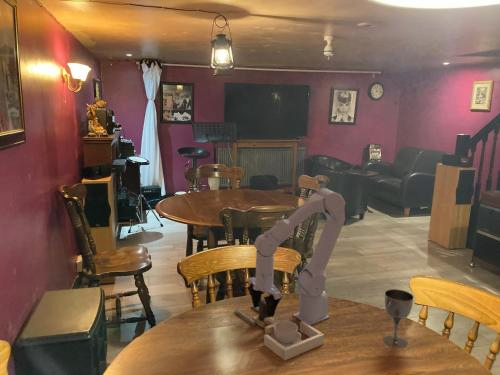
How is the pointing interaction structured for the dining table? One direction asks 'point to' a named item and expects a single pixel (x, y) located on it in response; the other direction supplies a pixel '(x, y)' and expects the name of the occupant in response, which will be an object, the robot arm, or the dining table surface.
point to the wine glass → (397, 313)
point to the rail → (248, 316)
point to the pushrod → (265, 318)
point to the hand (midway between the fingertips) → (263, 311)
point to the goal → (297, 348)
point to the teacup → (286, 333)
